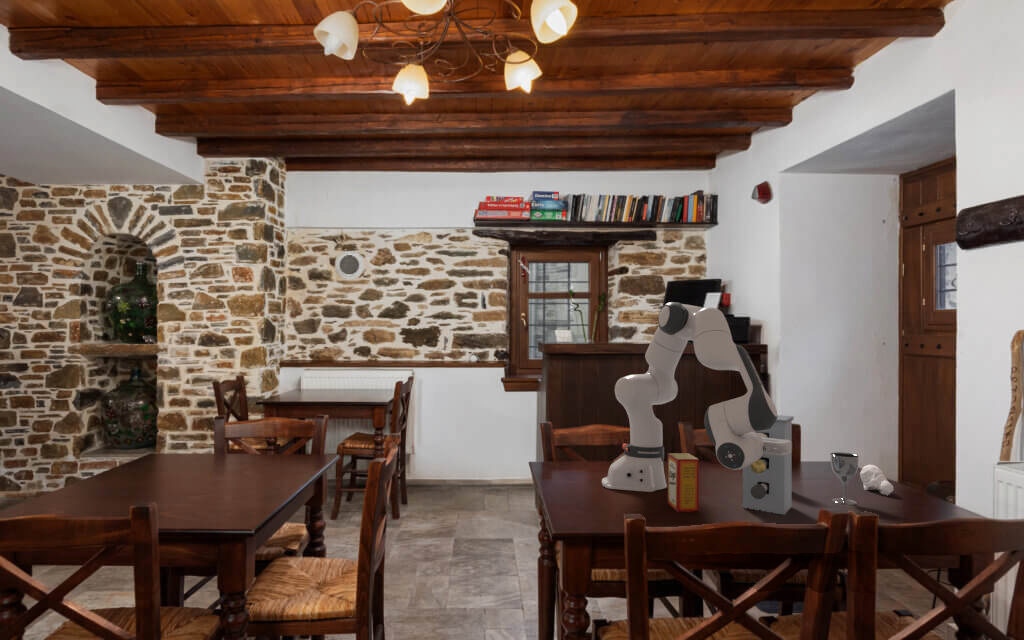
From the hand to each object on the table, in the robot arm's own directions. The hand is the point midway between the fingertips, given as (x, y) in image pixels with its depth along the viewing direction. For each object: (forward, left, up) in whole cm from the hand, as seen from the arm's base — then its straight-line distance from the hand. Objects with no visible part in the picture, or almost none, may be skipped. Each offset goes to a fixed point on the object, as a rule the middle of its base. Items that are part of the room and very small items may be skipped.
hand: (759, 440), depth 184 cm
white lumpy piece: (+49, +32, -22) cm, 62 cm away
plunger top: (+2, +4, -2) cm, 5 cm away
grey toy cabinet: (+5, +8, -22) cm, 24 cm away
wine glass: (+32, +18, -22) cm, 43 cm away
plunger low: (+1, +2, -17) cm, 17 cm away
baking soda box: (-21, +5, -22) cm, 31 cm away
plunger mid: (+1, +2, -9) cm, 10 cm away
